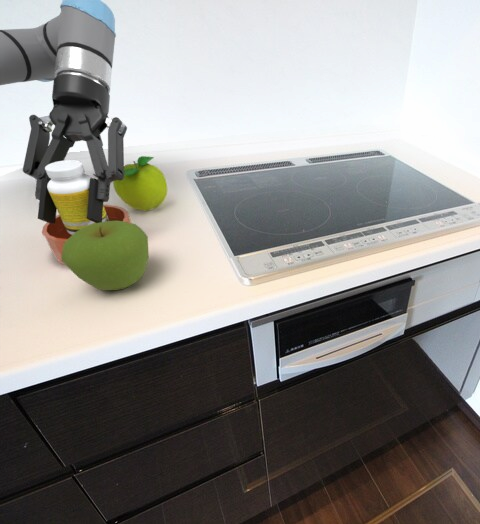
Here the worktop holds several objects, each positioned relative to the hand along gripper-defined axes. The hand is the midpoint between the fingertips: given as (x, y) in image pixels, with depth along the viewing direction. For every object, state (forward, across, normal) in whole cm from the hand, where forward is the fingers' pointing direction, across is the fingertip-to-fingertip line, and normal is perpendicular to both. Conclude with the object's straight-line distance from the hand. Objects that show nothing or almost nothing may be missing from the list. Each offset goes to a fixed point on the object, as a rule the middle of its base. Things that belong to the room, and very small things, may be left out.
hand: (70, 220), depth 56 cm
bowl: (+3, 0, -8) cm, 8 cm away
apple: (+10, -8, 0) cm, 13 cm away
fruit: (-8, -4, -18) cm, 20 cm away
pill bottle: (0, 0, -5) cm, 5 cm away
